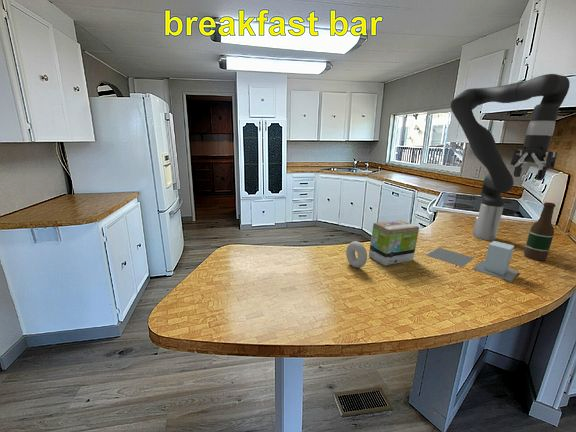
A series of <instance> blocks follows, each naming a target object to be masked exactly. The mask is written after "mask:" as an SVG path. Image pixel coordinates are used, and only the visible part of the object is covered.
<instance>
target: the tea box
mask: <svg viewBox="0 0 576 432" xmlns="http://www.w3.org/2000/svg"><path fill="white" fill-rule="evenodd" d="M419 232H420V227H419V226H418V225H415V224H413V223H409V222H407V221H404V220H401V219H400V220H399V219H398V220H390V221H382V222H381V221H380V222H373V225H372V231H371V238H370V244H369V245H370V246H369V250H368V257H369V258H371V259H372V260H374V261H376V262H378V263H379V264H381V265H382V266H385V267H386V266H390V265H395V264H400V263H405V262H409V261H413V260H414V257H415V253H416V246H417V241H418V236H419Z"/></svg>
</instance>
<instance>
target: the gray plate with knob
mask: <svg viewBox="0 0 576 432" xmlns="http://www.w3.org/2000/svg"><path fill="white" fill-rule="evenodd" d="M484 263H485V260H481V261H479V263H477V264H476V265H475V266H474V267H473V268H472V270H473V271H477V272H479V273H483V274H486V275H490V276H491V277H494V278H495V277H496V278H499V279H502V280H503V281H505V282H508V281H509V282H508V283H512V282H513V281H514V279H515V277H516V276H517V275H518V274H519V272H520V271H519V270H516V269H513V268H508V271H507V272H506V273H505V274H504V275H500V274H497V273H494V272H491V271H487V270H484V269H483V267H484ZM511 281H512V282H511Z"/></svg>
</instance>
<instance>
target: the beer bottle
mask: <svg viewBox="0 0 576 432" xmlns="http://www.w3.org/2000/svg"><path fill="white" fill-rule="evenodd" d="M542 205H543V208H542V211H541V213H540V216H539V218H538V220H537V221H536V222H534V223H533V224H532V225H531V227H530V230H529V232H528V237H527V240H526V243H525V247H524V250H523V251H524V252H523V255H524V257H526V258H527V259H529V260H533V261H538V262H540V261H541V262H542V261H546V260H547V258H548V254H549V251H550V250H551V249H550V248H551V245H552V241H553V238H554V234H555V229H554V226H553V224H552V220H553V215H554V210H555V208H556V203H553V202H548V201H547V202H544V203H543V204H542Z"/></svg>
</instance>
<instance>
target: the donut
mask: <svg viewBox="0 0 576 432" xmlns="http://www.w3.org/2000/svg"><path fill="white" fill-rule="evenodd" d="M345 251H346V252H345V254H346V259H347V262H348V263H349V265H351V266H352V267H353V268H355V269H361V268H363V267H365V265H366V264H367V261H368V253H367V249H366V248H365V246H364V244H362V243H361V242H360V241H357V240H355V241H354V240H353V241H351V242H349V244H348V245H347V247H346V250H345ZM356 253H357V256H356Z"/></svg>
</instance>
